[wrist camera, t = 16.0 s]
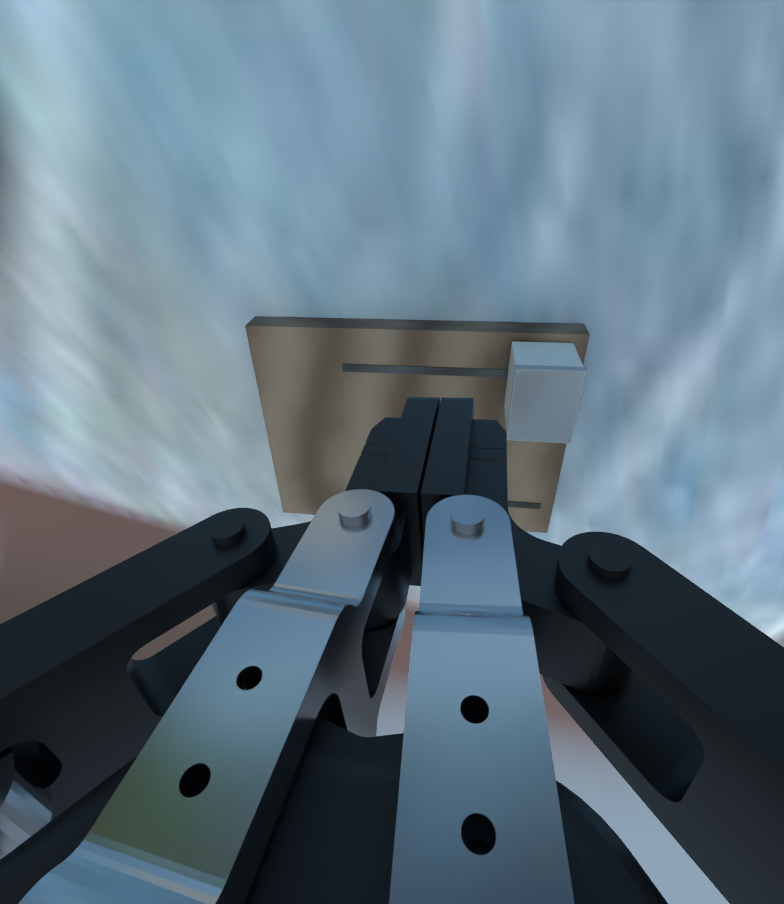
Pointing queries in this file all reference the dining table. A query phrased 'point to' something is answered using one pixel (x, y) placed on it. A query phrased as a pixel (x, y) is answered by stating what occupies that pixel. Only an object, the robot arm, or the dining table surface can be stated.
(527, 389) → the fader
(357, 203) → the dining table surface
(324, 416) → the fader board
